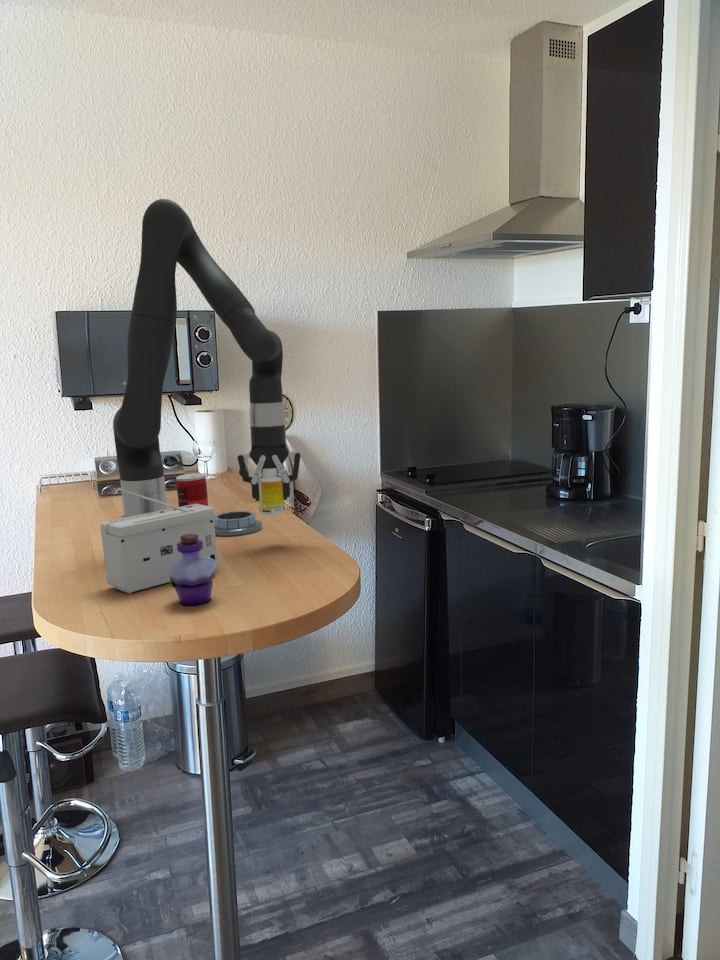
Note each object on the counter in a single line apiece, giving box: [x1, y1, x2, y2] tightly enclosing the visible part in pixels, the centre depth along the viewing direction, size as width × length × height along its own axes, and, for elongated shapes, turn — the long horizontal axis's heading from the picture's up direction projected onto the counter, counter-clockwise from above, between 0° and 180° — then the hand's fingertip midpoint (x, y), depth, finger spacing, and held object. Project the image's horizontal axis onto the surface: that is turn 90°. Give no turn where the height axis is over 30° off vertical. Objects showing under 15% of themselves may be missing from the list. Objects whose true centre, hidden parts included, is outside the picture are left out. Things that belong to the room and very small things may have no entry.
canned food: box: [175, 473, 209, 507], centre depth 203 cm, size 8×8×11 cm
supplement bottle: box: [257, 468, 286, 516], centre depth 166 cm, size 6×6×10 cm
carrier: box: [214, 510, 263, 538], centre depth 185 cm, size 13×13×4 cm
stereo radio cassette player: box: [100, 487, 219, 595], centre depth 145 cm, size 21×8×20 cm, turn 131°
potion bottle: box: [166, 534, 217, 607], centre depth 132 cm, size 9×9×12 cm
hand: (271, 499), depth 166 cm, fingers closed on supplement bottle, 5 cm apart
